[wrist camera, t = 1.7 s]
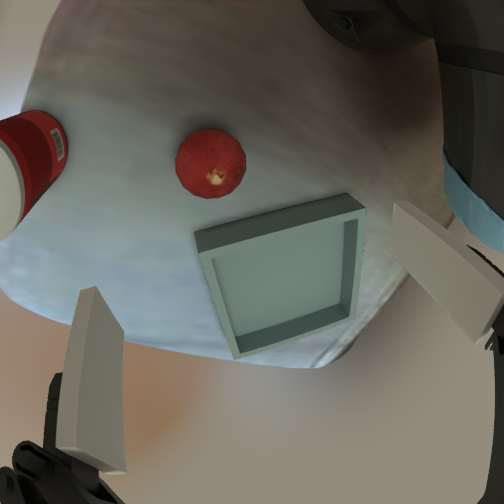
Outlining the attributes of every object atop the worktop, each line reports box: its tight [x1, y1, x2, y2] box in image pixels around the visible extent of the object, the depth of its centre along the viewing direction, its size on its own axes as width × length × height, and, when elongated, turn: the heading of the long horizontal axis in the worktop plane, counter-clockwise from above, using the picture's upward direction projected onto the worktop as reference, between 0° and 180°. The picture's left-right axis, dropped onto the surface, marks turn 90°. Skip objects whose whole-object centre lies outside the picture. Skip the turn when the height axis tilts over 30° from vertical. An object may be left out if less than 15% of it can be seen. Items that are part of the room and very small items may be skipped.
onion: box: [175, 129, 246, 199], centre depth 23 cm, size 6×6×8 cm
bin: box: [194, 193, 366, 360], centre depth 36 cm, size 18×18×4 cm
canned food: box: [0, 111, 67, 241], centre depth 17 cm, size 8×8×11 cm
